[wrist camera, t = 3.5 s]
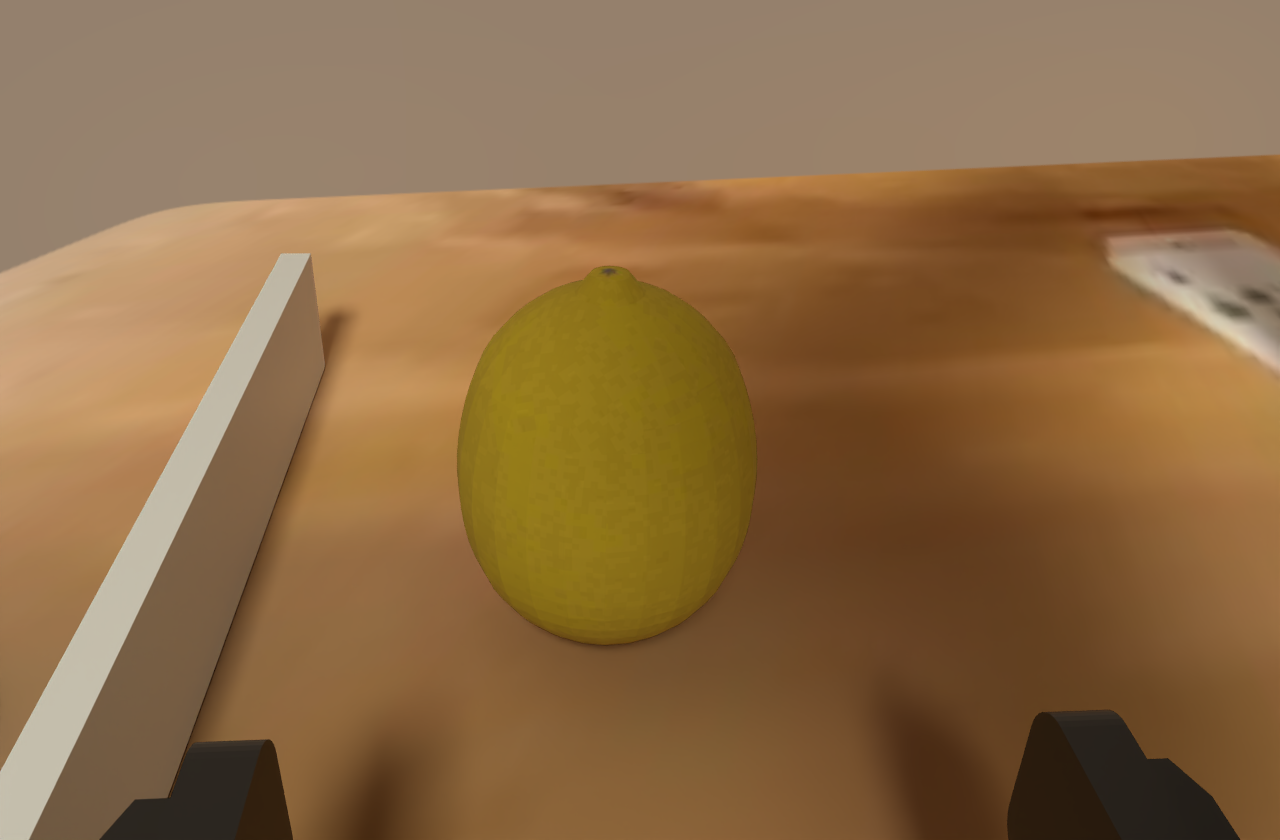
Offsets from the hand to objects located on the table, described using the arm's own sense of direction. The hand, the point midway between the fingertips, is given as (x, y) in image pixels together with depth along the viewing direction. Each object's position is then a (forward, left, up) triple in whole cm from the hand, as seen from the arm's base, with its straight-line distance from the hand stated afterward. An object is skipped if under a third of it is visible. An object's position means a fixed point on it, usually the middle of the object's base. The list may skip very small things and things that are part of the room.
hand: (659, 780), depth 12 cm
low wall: (+8, -9, -6) cm, 14 cm away
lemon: (0, -9, -6) cm, 11 cm away
